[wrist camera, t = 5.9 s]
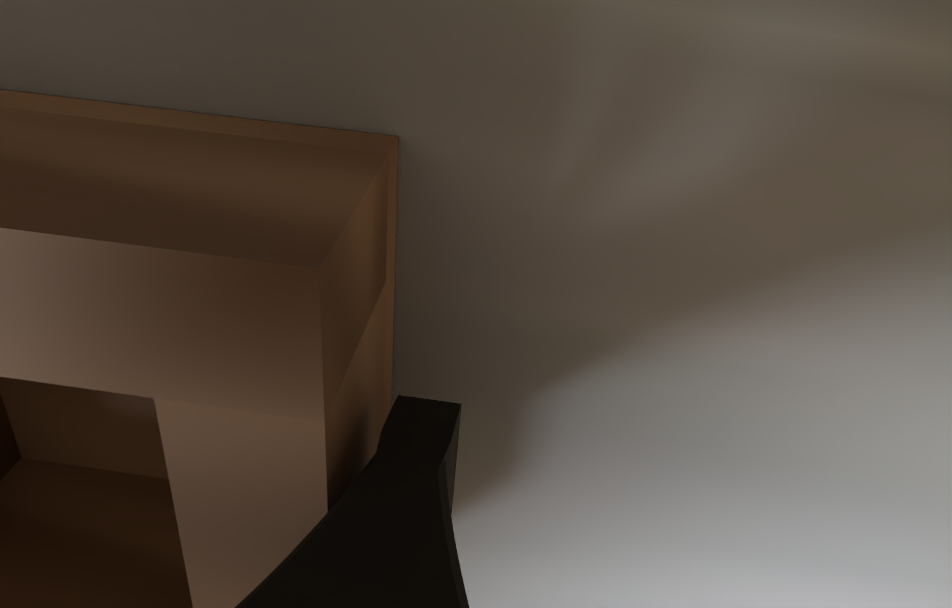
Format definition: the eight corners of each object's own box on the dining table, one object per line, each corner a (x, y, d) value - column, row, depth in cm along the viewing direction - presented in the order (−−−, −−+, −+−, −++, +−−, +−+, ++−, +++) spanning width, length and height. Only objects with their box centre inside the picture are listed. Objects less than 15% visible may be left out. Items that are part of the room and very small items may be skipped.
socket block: (387, 554, 14) (336, 747, 11) (-27, 492, 14) (-184, 661, 12) (398, 135, 10) (319, 269, 7) (-189, 67, 10) (-504, 162, 7)
